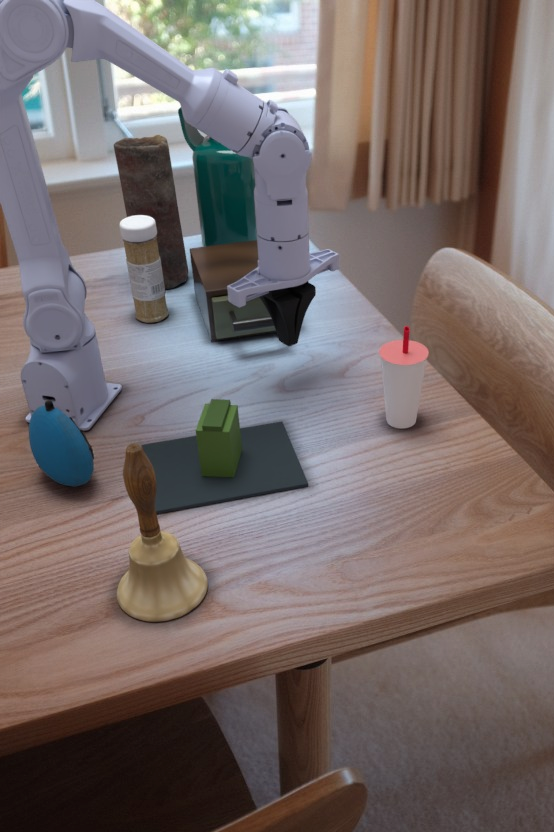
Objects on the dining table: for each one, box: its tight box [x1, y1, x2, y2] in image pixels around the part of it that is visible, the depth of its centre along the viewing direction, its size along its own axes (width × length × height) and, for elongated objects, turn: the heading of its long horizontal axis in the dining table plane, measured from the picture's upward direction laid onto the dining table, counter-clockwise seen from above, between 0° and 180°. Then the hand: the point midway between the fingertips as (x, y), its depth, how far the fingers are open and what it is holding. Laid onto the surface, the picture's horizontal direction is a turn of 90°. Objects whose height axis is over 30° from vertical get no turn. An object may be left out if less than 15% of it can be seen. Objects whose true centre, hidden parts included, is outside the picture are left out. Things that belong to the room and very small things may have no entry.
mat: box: [140, 421, 309, 515], centre depth 97 cm, size 12×16×1 cm
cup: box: [378, 325, 430, 430], centre depth 100 cm, size 5×5×12 cm
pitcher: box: [177, 106, 257, 247], centre depth 132 cm, size 10×8×22 cm
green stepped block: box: [195, 398, 242, 478], centre depth 95 cm, size 5×4×6 cm
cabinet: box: [189, 240, 277, 342], centre depth 122 cm, size 14×12×7 cm
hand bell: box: [116, 442, 209, 623], centre depth 78 cm, size 8×8×16 cm
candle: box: [113, 134, 189, 290], centre depth 126 cm, size 8×7×20 cm
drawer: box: [211, 294, 276, 339], centre depth 119 cm, size 17×10×5 cm, turn 16°
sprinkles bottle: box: [119, 215, 169, 324], centre depth 120 cm, size 5×5×13 cm
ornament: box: [28, 400, 95, 488], centre depth 93 cm, size 8×5×10 cm, turn 53°
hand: (288, 341), depth 108 cm, fingers closed
